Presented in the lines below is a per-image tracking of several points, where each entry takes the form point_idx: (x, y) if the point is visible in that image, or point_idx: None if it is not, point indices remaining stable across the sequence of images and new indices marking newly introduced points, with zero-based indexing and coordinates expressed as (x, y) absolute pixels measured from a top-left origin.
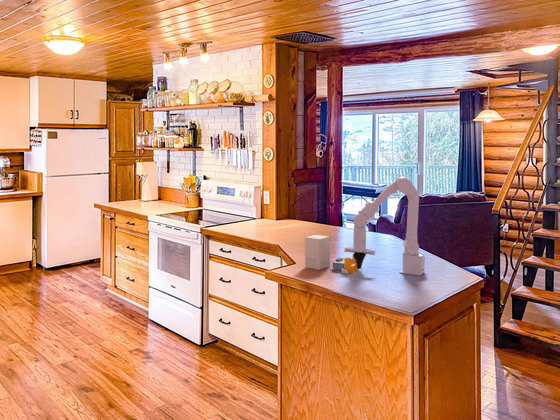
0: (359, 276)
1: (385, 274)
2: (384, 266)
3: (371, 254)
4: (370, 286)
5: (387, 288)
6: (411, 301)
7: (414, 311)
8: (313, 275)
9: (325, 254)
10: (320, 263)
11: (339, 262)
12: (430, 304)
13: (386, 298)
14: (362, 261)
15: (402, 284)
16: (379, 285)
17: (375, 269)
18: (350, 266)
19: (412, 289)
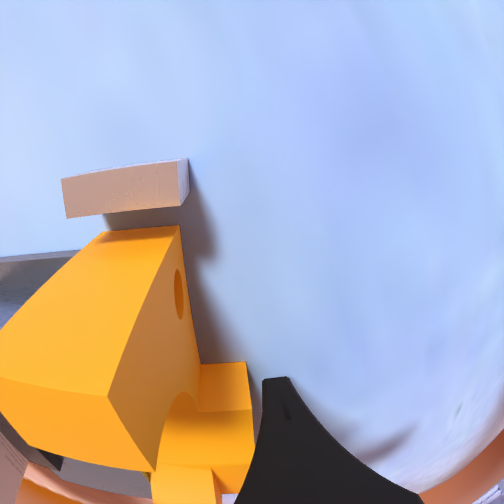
0: None
1: (478, 332)
2: (451, 53)
3: (481, 497)
4: (389, 480)
5: (441, 455)
6: (467, 457)
7: (455, 473)
8: (104, 493)
9: None
10: (21, 465)
11: (98, 483)
12: (491, 440)
13: (423, 483)
14: (325, 441)
15: (495, 399)
16: (421, 459)
17: (419, 233)
18: (230, 489)
19: (501, 409)
